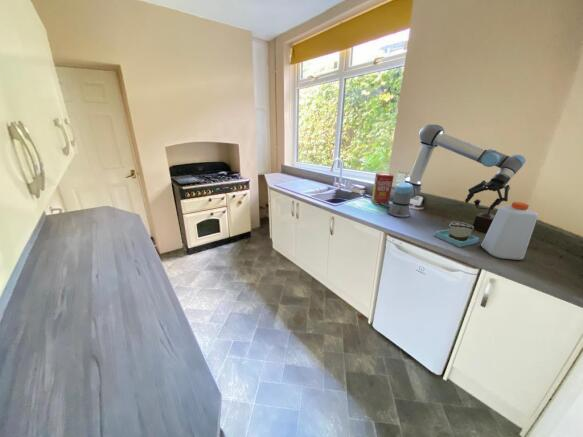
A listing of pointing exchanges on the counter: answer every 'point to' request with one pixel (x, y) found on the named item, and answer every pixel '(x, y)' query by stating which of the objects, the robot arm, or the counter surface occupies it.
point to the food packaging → (382, 188)
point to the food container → (460, 230)
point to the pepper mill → (482, 218)
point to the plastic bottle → (510, 231)
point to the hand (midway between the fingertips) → (477, 204)
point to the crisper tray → (445, 234)
